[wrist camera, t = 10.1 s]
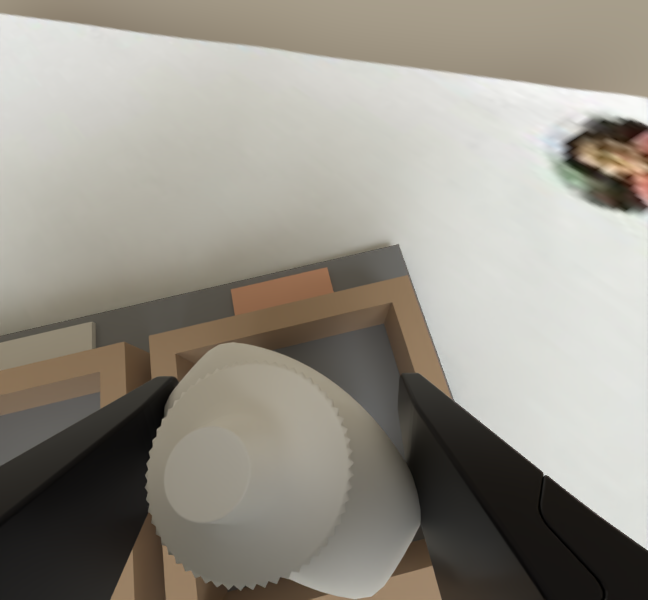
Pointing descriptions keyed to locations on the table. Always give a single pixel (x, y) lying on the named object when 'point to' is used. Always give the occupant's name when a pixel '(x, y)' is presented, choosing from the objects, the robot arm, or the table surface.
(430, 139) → the table surface
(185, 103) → the table surface
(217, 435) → the eye dropper bottle
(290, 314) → the well tray
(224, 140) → the table surface
